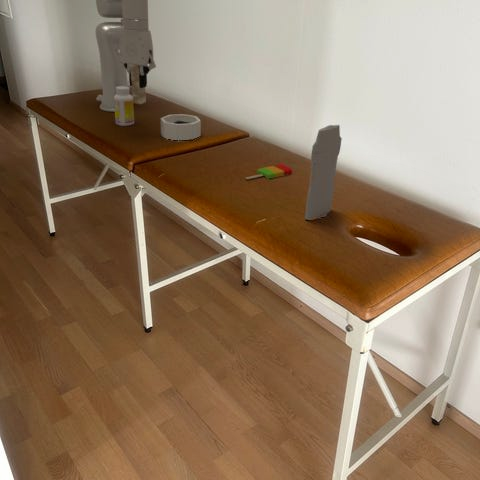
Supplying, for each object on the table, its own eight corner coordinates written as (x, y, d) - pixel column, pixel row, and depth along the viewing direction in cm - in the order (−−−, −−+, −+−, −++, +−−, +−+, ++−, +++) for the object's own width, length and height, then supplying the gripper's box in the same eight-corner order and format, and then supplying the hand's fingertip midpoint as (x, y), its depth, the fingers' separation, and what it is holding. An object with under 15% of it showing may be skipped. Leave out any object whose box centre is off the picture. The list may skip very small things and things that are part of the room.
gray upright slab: (323, 206, 129) (335, 119, 119) (337, 211, 127) (350, 123, 116) (297, 218, 122) (307, 127, 112) (311, 224, 120) (323, 131, 109)
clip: (168, 133, 174) (168, 123, 173) (177, 129, 179) (177, 119, 178) (183, 136, 172) (183, 126, 171) (192, 131, 177) (192, 122, 176)
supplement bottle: (136, 122, 188) (134, 86, 182) (131, 127, 183) (129, 90, 176) (118, 120, 189) (116, 85, 183) (113, 125, 183) (110, 88, 177)
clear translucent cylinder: (133, 102, 168) (129, 58, 160) (138, 100, 170) (135, 56, 162) (140, 104, 166) (137, 59, 159) (146, 102, 169) (143, 57, 161)
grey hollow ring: (155, 137, 173) (154, 120, 171) (174, 128, 184) (174, 112, 181) (187, 143, 169) (187, 126, 166) (205, 134, 179) (206, 118, 176)
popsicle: (293, 175, 149) (293, 169, 148) (252, 185, 141) (252, 178, 140) (281, 169, 153) (281, 163, 152) (240, 178, 145) (240, 172, 144)
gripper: (106, 23, 156) (110, 84, 165) (151, 29, 150) (153, 92, 159) (121, 20, 162) (124, 80, 171) (165, 26, 156) (166, 88, 165)
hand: (138, 85), depth 165 cm, fingers closed on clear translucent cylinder, 3 cm apart
